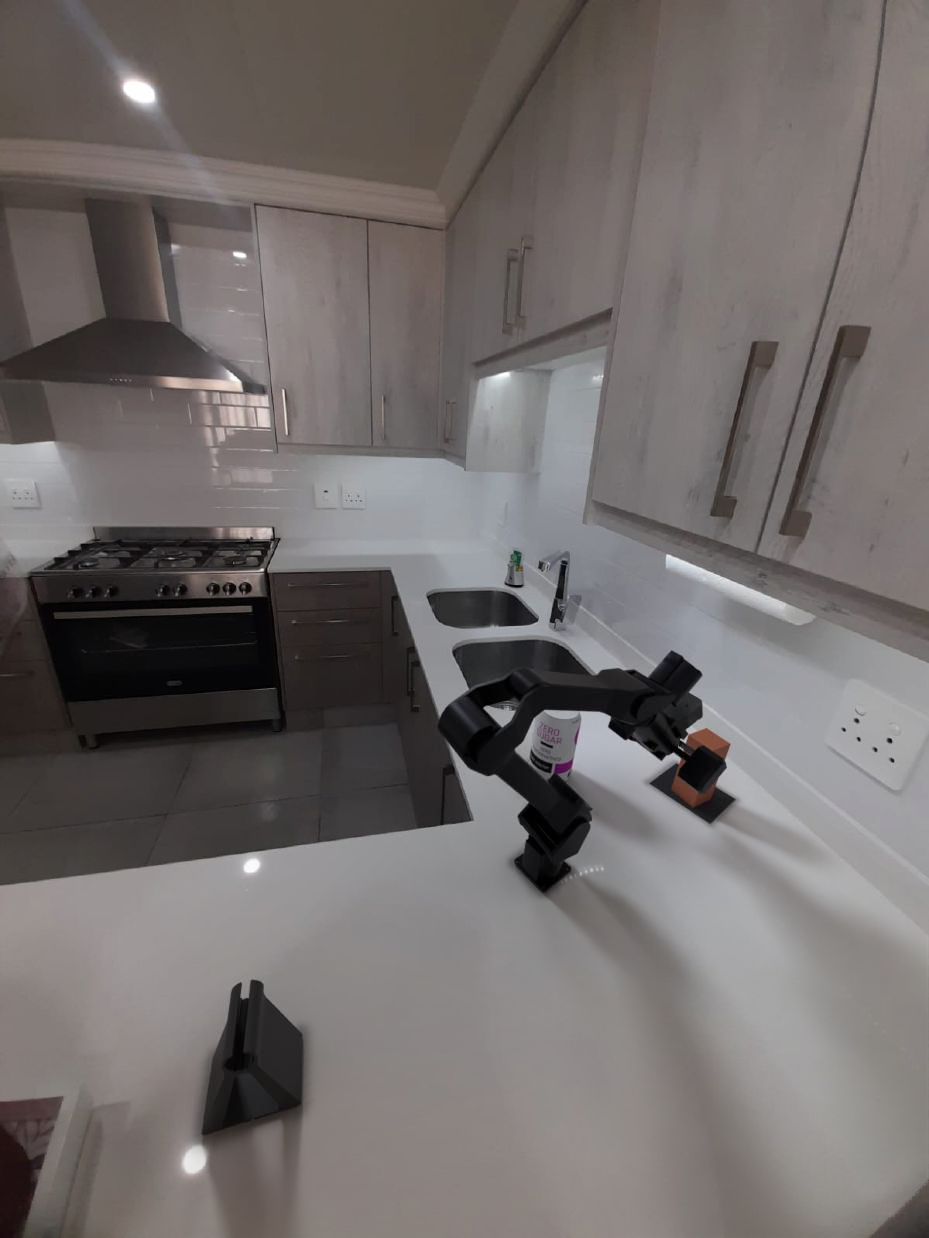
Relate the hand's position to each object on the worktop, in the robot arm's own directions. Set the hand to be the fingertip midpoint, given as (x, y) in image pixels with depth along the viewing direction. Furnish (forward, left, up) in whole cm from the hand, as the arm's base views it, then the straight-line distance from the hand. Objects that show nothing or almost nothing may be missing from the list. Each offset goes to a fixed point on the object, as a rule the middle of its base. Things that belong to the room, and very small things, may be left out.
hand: (678, 759), depth 84 cm
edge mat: (+9, -1, -11) cm, 14 cm away
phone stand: (-70, +5, -11) cm, 71 cm away
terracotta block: (+7, -1, -11) cm, 13 cm away
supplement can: (-10, +19, -11) cm, 24 cm away
